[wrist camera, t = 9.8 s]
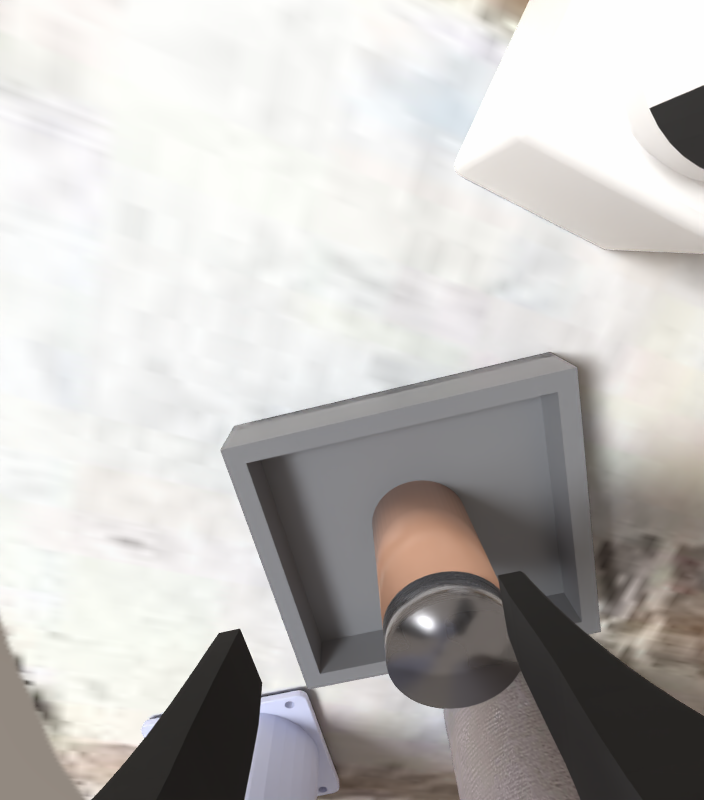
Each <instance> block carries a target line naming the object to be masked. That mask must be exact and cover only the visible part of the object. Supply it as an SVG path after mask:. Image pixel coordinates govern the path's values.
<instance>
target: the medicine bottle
mask: <svg viewBox="0 0 704 800" xmlns="http://www.w3.org/2000/svg"><path fill="white" fill-rule="evenodd" d="M454 168H455V172H456V173H457V174H458V175H459V176H461V177H463V178H465V179H467V180H469V181H471V182H473V183H475V184H477V185H479V186H481V187H483V188H485V189H487V190H489V191H491V192H493V193H495V194H497V195H499V196H501V197H503V198H505V199H507V200H509V201H510V202H512V203H514V204H516V205H518V206H520V207H522V208H524V209H526V210H528V211H530V212H532V213H534V214H536V215H538V216H540V217H542V218H544V219H546V220H548V221H550V222H552V223H554V224H556V225H558V226H560V227H562V228H564V229H566V230H567V231H569V232H571V233H573V234H575V235H577V236H579V237H581V238H583V239H585V240H587V241H589V242H591V243H593V244H595V245H597V246H599V247H601V248H603V249H607V250H625V251H647V252H669V253H691V254H704V0H529V2H528V4H527V7H526V9H525V11H524V13H523V15H522V17H521V19H520V22H519V24H518V26H517V28H516V30H515V32H514V35H513V37H512V39H511V41H510V43H509V45H508V48H507V50H506V52H505V54H504V56H503V58H502V61H501V63H500V65H499V67H498V69H497V71H496V74H495V76H494V78H493V80H492V82H491V84H490V86H489V89H488V91H487V93H486V95H485V97H484V99H483V102H482V104H481V106H480V108H479V110H478V112H477V115H476V117H475V119H474V121H473V123H472V125H471V128H470V130H469V132H468V134H467V136H466V138H465V140H464V143H463V145H462V147H461V149H460V151H459V153H458V156H457V158H456V160H455V164H454Z"/></svg>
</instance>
